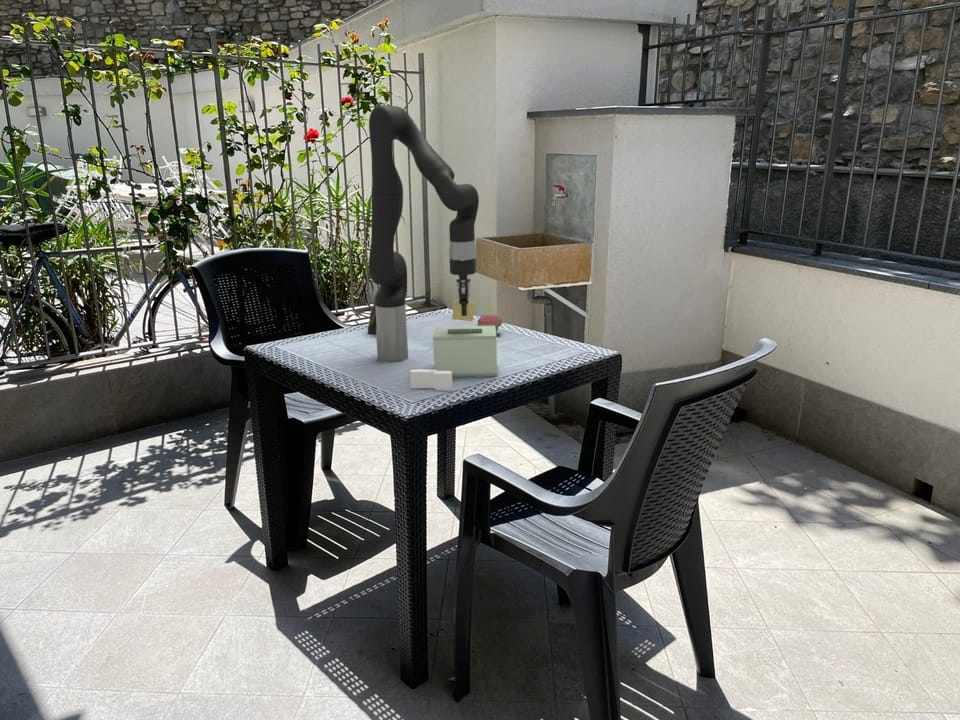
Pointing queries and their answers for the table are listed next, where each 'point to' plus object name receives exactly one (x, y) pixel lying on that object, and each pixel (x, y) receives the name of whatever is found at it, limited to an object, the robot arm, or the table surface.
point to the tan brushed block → (458, 311)
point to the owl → (373, 319)
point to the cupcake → (490, 320)
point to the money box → (466, 350)
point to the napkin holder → (430, 379)
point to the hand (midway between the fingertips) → (464, 316)
